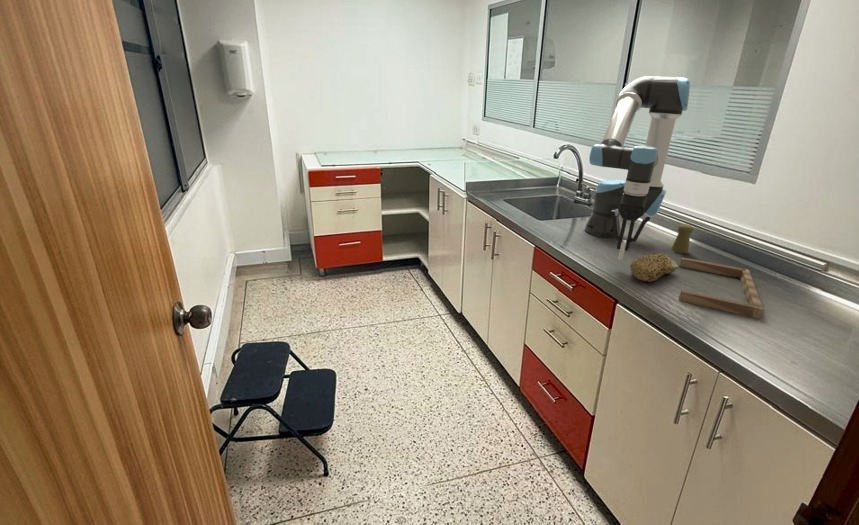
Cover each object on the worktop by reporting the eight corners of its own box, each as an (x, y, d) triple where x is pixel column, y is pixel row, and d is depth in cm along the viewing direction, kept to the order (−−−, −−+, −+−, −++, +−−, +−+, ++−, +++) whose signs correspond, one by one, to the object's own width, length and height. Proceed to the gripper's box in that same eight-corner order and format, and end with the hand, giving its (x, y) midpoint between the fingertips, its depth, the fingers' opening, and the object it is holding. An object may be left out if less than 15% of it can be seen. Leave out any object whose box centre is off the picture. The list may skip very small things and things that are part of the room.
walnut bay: (679, 264, 164) (681, 257, 163) (745, 277, 155) (748, 269, 154) (679, 300, 136) (681, 291, 135) (760, 318, 127) (763, 309, 126)
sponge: (650, 268, 163) (614, 264, 154) (661, 250, 160) (625, 245, 150) (678, 288, 153) (641, 286, 144) (691, 269, 150) (654, 266, 140)
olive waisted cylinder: (684, 254, 174) (692, 228, 170) (668, 250, 178) (675, 224, 174) (690, 251, 178) (697, 225, 173) (674, 247, 182) (681, 221, 177)
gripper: (613, 192, 147) (599, 257, 156) (655, 198, 142) (639, 265, 151) (616, 188, 153) (603, 251, 163) (657, 194, 148) (641, 258, 157)
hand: (620, 258), depth 157 cm, fingers closed
